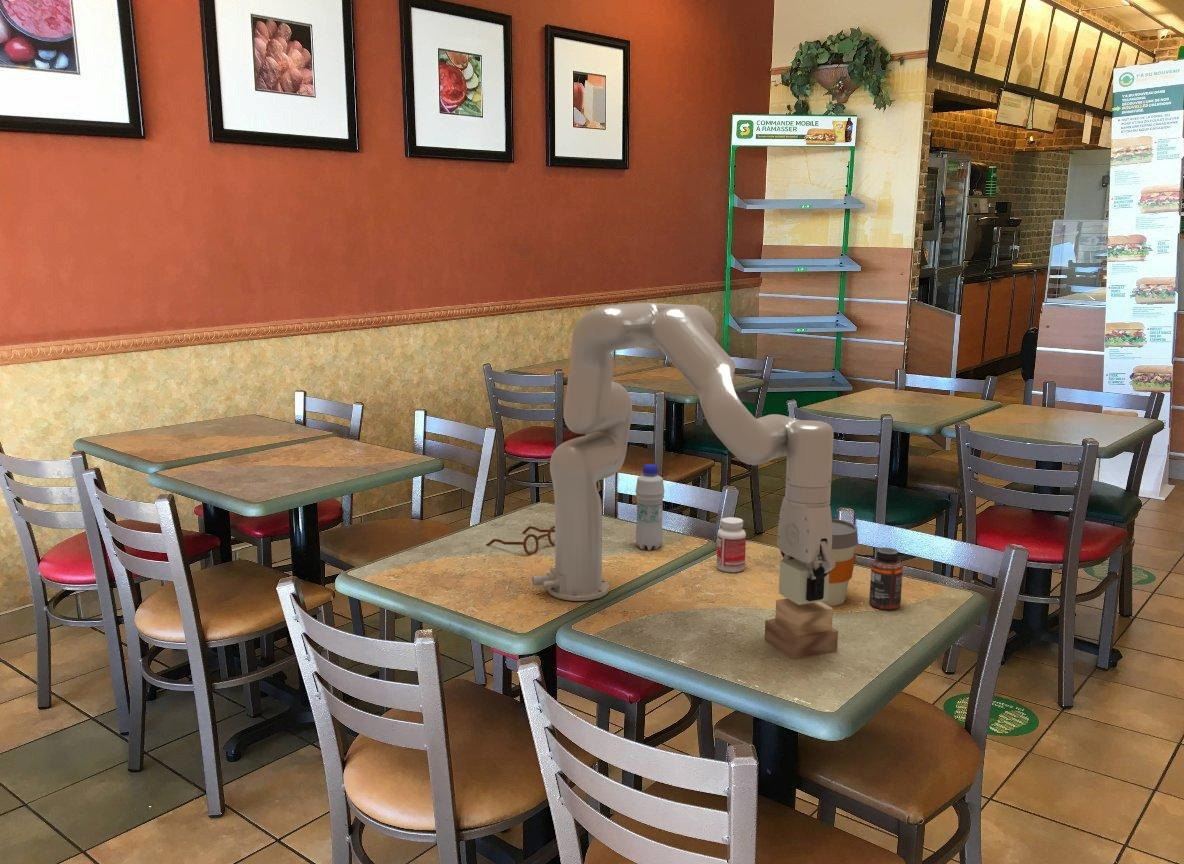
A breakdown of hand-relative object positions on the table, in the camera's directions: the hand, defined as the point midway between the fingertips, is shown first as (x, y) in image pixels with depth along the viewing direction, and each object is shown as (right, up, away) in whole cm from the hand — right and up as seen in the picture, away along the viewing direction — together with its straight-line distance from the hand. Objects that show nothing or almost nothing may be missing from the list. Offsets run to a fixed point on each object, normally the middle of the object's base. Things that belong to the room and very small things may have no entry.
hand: (803, 592), depth 164 cm
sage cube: (0, -1, 0) cm, 1 cm away
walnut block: (0, -10, +3) cm, 10 cm away
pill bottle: (-6, -2, +42) cm, 43 cm away
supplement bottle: (+21, -6, +21) cm, 31 cm away
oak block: (0, -6, +2) cm, 7 cm away
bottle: (-23, +1, +56) cm, 61 cm away
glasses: (-53, +1, +58) cm, 79 cm away
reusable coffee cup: (+9, -6, +25) cm, 27 cm away
